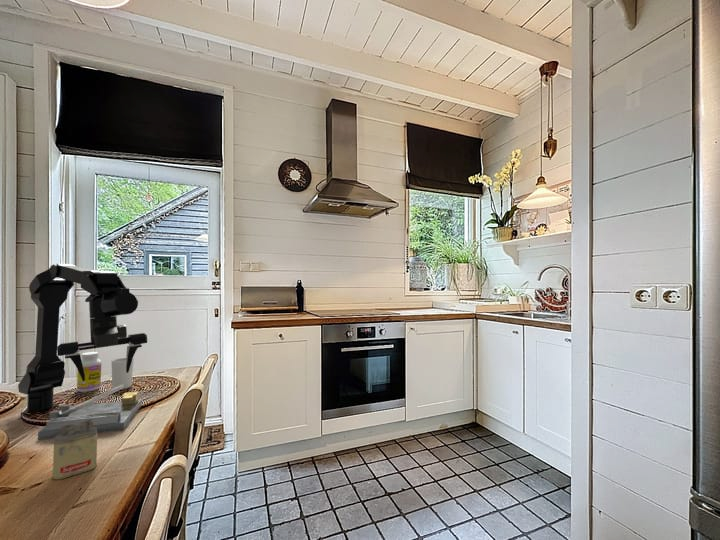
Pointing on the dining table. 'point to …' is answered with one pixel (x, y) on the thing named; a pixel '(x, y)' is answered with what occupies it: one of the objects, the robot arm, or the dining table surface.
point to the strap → (91, 400)
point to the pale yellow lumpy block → (130, 398)
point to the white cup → (121, 373)
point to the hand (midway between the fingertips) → (106, 376)
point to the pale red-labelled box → (75, 450)
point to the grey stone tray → (102, 416)
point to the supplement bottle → (90, 372)
